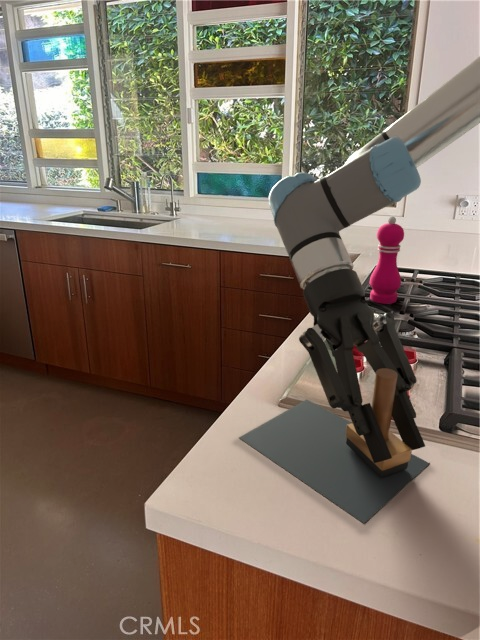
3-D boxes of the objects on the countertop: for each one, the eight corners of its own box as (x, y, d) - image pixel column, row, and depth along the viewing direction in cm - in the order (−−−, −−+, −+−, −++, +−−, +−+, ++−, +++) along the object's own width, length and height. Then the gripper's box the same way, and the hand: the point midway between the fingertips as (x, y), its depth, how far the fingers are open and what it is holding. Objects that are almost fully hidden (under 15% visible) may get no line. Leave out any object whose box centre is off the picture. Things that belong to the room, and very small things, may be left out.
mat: (429, 465, 57) (430, 463, 57) (363, 526, 49) (364, 523, 49) (306, 401, 71) (306, 399, 71) (238, 439, 63) (238, 437, 63)
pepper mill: (400, 305, 108) (411, 219, 101) (369, 303, 110) (377, 219, 102) (396, 295, 115) (406, 214, 107) (366, 293, 116) (374, 213, 109)
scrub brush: (344, 443, 61) (352, 363, 56) (370, 435, 62) (380, 356, 57) (381, 479, 55) (393, 392, 50) (408, 469, 56) (423, 383, 51)
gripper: (366, 284, 68) (435, 440, 60) (261, 302, 62) (323, 480, 54) (395, 258, 61) (476, 429, 54) (280, 275, 55) (354, 472, 47)
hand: (399, 454), depth 54 cm, fingers closed on scrub brush, 4 cm apart
